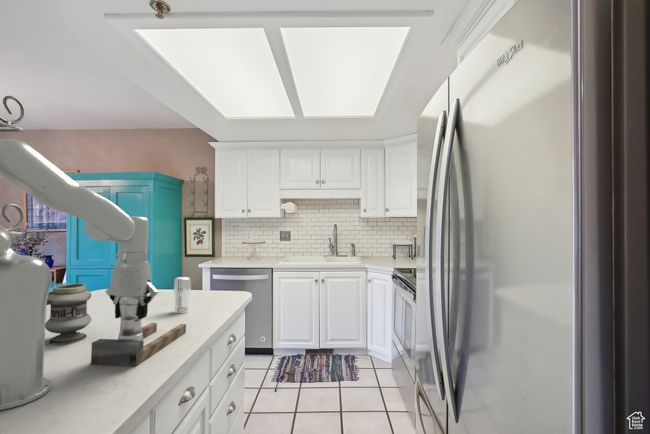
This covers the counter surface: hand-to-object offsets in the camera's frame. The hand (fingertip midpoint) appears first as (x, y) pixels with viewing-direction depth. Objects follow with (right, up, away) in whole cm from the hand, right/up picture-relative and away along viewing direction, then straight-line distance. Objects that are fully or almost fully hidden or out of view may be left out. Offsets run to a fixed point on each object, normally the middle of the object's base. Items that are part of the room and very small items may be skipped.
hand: (131, 316), depth 95 cm
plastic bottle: (0, -10, 0) cm, 10 cm away
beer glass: (-6, -13, +47) cm, 49 cm away
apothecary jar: (-28, -11, +11) cm, 32 cm away
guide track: (0, -12, +7) cm, 14 cm away
